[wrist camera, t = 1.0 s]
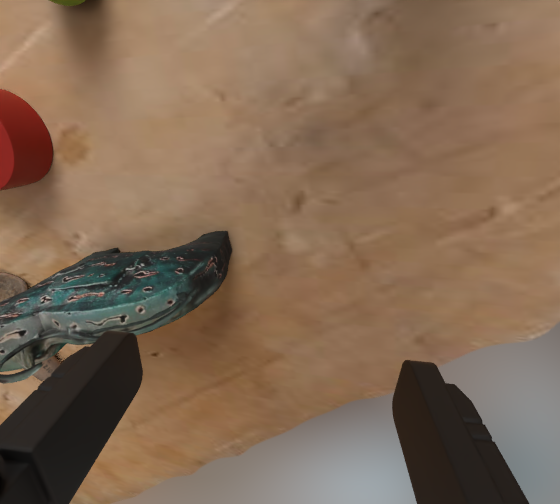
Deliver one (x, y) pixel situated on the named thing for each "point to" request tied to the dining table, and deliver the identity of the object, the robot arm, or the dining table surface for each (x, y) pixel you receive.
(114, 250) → the ceramic cat
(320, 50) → the dining table surface
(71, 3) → the snail figurine
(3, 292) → the pipe
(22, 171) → the cheese
